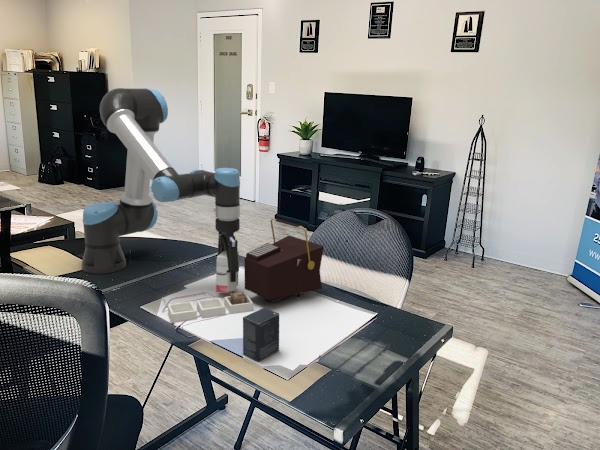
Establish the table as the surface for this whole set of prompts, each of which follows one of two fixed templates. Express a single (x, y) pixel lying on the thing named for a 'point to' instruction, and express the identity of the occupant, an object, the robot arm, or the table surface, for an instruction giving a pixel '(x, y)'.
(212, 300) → the bins
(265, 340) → the box
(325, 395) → the table surface
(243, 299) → the letter cube
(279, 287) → the brown boxy machine
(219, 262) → the ink box
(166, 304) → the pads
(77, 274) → the table surface
